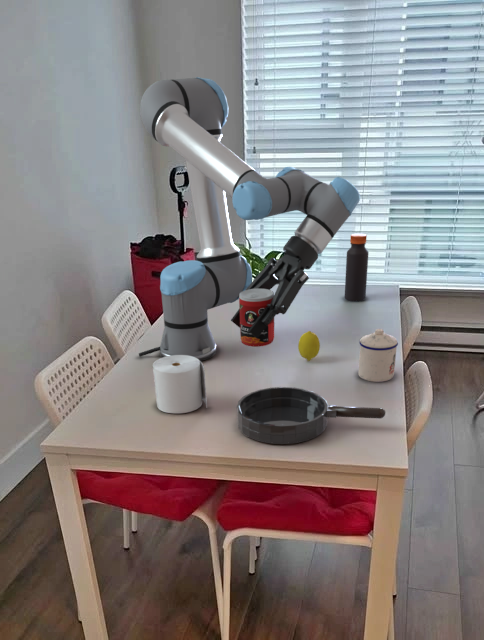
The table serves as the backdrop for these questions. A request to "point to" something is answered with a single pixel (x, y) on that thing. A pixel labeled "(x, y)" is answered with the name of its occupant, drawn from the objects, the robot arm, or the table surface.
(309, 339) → the lemon
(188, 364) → the toilet tissue
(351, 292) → the bottle
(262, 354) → the table surface
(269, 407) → the frying pan
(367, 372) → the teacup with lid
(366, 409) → the pan handle
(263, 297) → the canned food
